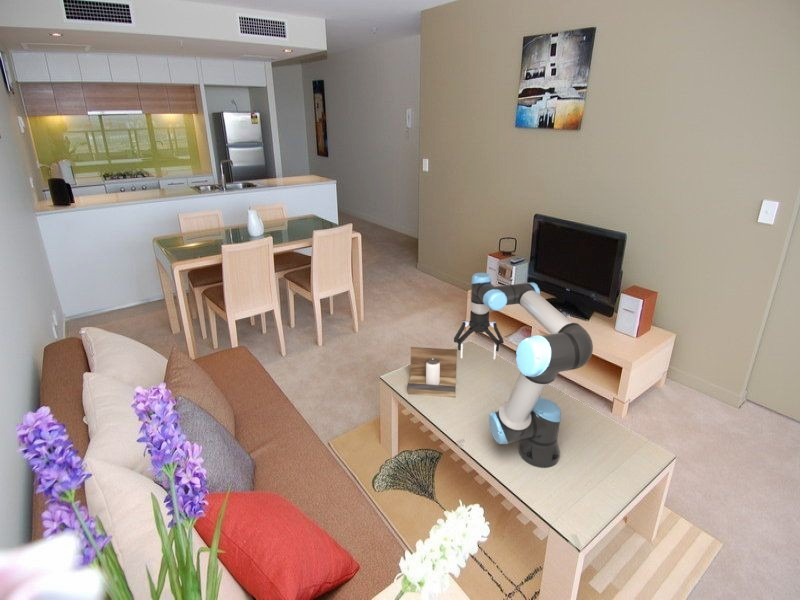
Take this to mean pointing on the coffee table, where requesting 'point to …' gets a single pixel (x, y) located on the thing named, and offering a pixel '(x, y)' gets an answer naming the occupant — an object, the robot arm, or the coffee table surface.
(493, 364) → the coffee table surface
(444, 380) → the brown piece
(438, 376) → the can
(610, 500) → the coffee table surface
